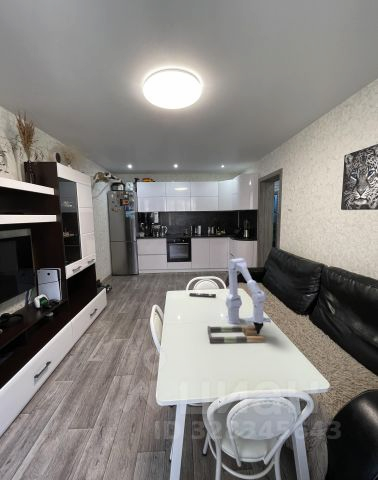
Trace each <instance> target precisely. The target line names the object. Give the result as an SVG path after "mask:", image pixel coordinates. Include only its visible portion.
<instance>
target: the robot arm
mask: <svg viewBox="0 0 378 480" xmlns="http://www.w3.org/2000/svg"><path fill="white" fill-rule="evenodd" d="M227 264H228V265H227V266H228V267H227V268H228V283H229V284H228V286H229V287H228V288H229V294H228V295H227V296H226V301H225V305H226V308H227V315H226V319H227V321H228V324H241V320H240V309H241V306H242V305H243V302H242V299H241V295H239V290H238V272H240V273H241V274H242V276H243V278H244V280H245V281H246V282H247V283H246V287H247V289H248V290H249V292H250V294H251V300H252V305H253V310H252V311H253V313H252V317H247V318H245V324H248V323H253V326H255V329H256V331H257V335H260V333H261V330H262V328H263V327H264V326H265V325H264V323H270V324H271V322H272V321H271V318H270V317H264V307H265V304H264V303H265V301H267V296H266V295H267V294H266V293H265V292H264V291H263V290H262V289H261V288H260V286H259V285H258V282H257V281H256V280H253V279H252V276H251V274H250V272H249V270H248V267H247V262H246V259H245V258H244V257H239V258H234V259H233V258H231V259H230V260H229V261H228V262H227Z"/></svg>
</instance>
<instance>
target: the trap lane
mask: <svg viewBox="0 0 378 480" xmlns="http://www.w3.org/2000/svg"><path fill="white" fill-rule="evenodd" d="M244 326H245V325H243V326H242V325H235V326H229V325H228V326H210V325H207V335H208V340H209V343H210V344H227V343H231V344H235V343H236V344H237V343H241V344H242V343H265V336H264V335H257V336H245V335H242V336H234V335H233V336H212V333H238V332H239V333H240V332H241V333H242V332H243V333H244ZM253 326H254V325H253ZM254 328H255V326H254Z"/></svg>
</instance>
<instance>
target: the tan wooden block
mask: <svg viewBox="0 0 378 480" xmlns="http://www.w3.org/2000/svg"><path fill="white" fill-rule="evenodd" d="M243 326H244V332H243V336H258V334H257V331H256V329H255V328H254V325H243Z"/></svg>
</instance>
